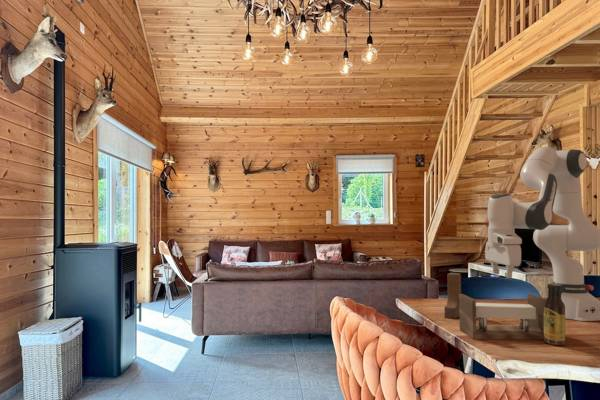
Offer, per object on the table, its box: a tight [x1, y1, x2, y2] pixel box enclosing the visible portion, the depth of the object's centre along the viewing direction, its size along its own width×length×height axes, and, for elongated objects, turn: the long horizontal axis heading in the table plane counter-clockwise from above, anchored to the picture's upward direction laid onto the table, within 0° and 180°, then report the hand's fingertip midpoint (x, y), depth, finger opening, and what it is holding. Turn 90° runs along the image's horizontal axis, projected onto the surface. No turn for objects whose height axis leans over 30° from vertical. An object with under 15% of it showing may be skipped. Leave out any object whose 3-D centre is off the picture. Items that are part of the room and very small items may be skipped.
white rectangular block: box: [476, 302, 536, 320], centre depth 152 cm, size 20×6×4 cm, turn 81°
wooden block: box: [444, 272, 462, 319], centre depth 180 cm, size 9×4×18 cm, turn 142°
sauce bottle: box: [543, 282, 566, 346], centre depth 141 cm, size 6×6×20 cm
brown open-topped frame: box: [459, 293, 547, 340], centre depth 152 cm, size 27×12×14 cm, turn 90°
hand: (502, 275), depth 153 cm, fingers open, 8 cm apart
